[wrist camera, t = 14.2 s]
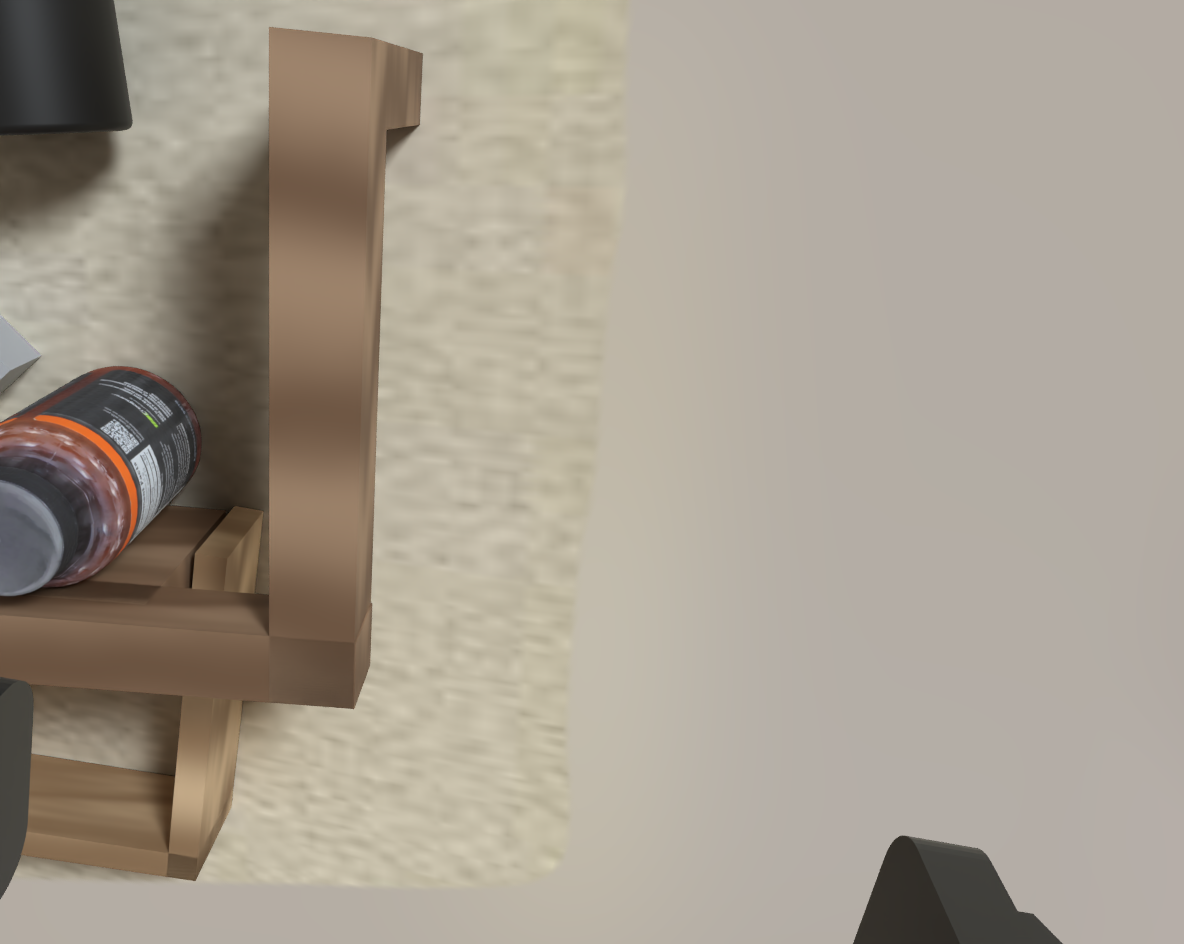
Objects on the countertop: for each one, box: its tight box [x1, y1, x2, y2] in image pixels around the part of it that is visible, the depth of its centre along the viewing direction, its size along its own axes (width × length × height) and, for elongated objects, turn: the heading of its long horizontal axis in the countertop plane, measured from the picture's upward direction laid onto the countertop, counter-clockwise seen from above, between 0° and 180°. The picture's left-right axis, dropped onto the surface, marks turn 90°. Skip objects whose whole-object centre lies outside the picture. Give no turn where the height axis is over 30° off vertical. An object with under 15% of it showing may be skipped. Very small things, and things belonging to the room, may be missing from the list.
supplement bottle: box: [0, 366, 202, 596], centre depth 39 cm, size 6×6×11 cm
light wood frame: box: [21, 506, 264, 881], centre depth 45 cm, size 15×12×5 cm
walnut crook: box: [0, 27, 423, 709], centre depth 38 cm, size 21×15×10 cm
